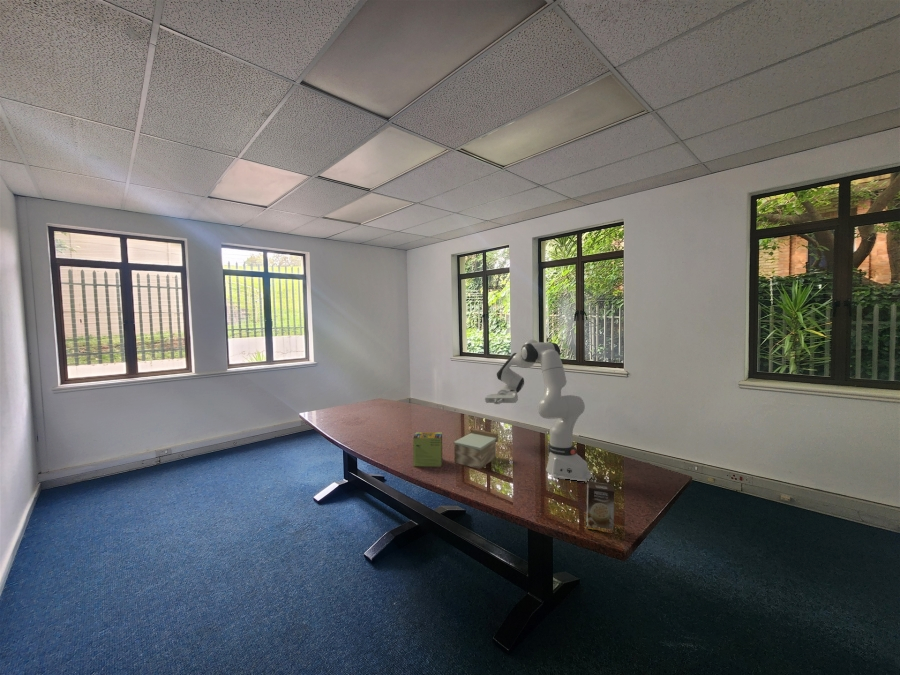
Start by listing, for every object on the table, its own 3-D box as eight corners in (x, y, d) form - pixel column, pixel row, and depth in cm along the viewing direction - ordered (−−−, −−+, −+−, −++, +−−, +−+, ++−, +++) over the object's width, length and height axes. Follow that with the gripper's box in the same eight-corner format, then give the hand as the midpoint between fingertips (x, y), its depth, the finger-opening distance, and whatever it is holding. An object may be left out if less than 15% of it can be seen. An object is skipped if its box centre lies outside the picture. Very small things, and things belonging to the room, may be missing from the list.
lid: (497, 441, 204) (497, 433, 203) (480, 452, 186) (480, 444, 186) (472, 436, 213) (472, 428, 213) (453, 446, 196) (453, 438, 195)
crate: (495, 458, 202) (495, 440, 202) (480, 469, 187) (480, 450, 187) (471, 452, 211) (471, 435, 211) (454, 462, 196) (454, 444, 196)
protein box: (441, 466, 191) (441, 438, 190) (412, 466, 191) (412, 437, 190) (442, 459, 201) (442, 431, 200) (415, 459, 202) (415, 431, 201)
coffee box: (586, 530, 133) (587, 487, 132) (586, 520, 139) (586, 480, 138) (613, 534, 130) (614, 491, 129) (612, 525, 136) (612, 483, 135)
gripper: (488, 390, 234) (480, 398, 222) (518, 390, 223) (511, 398, 212) (490, 400, 235) (481, 407, 223) (520, 400, 224) (512, 408, 212)
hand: (496, 402), depth 217 cm, fingers closed
